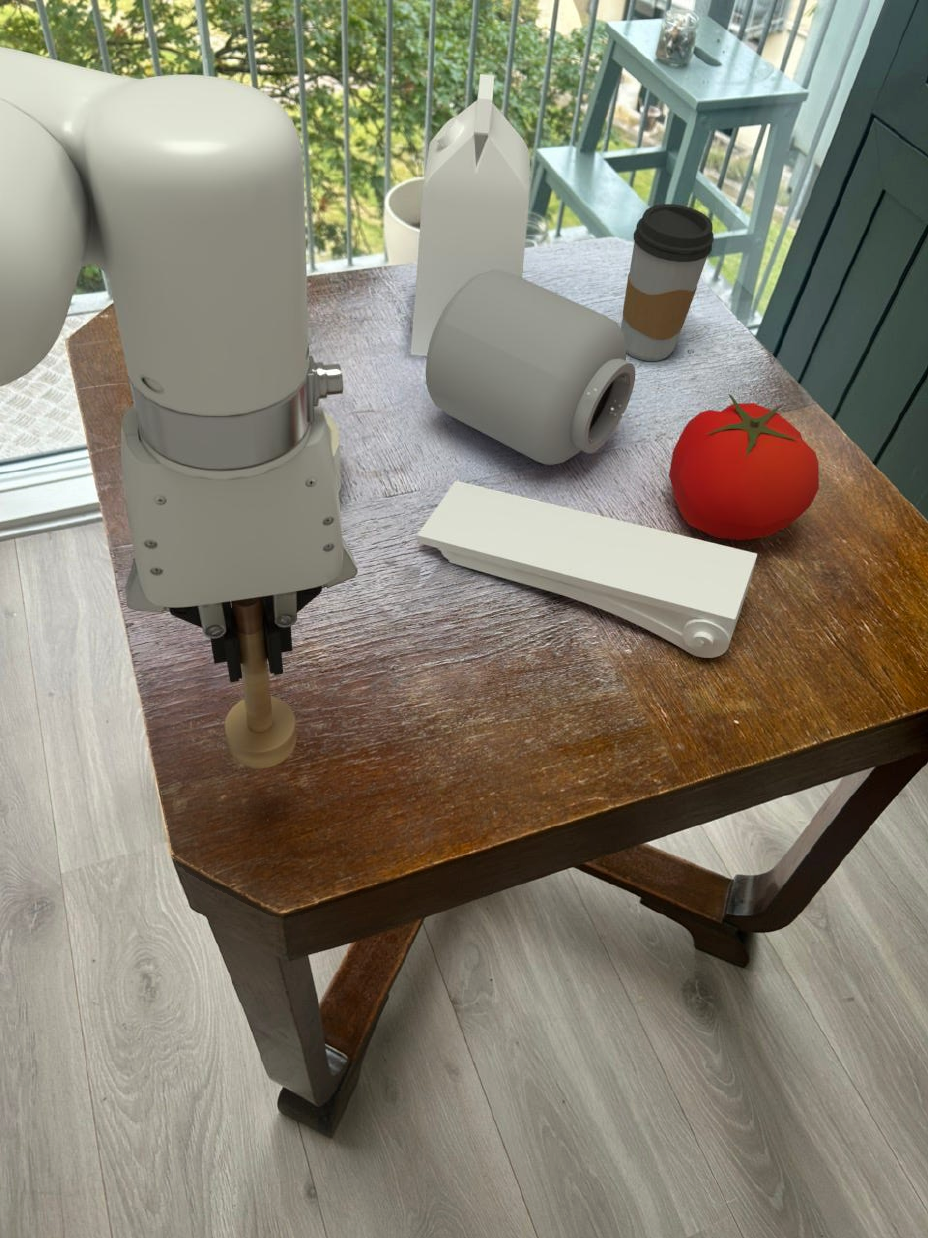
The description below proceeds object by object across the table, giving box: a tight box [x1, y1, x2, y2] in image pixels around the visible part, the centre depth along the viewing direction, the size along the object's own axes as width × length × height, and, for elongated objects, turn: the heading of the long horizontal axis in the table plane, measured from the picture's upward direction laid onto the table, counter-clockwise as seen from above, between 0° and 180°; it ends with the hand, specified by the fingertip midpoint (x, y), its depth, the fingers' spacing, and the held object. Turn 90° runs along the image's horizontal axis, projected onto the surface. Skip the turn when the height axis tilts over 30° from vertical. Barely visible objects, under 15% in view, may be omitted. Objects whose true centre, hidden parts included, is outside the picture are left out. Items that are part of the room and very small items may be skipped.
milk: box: [410, 73, 531, 357], centre depth 100 cm, size 12×12×26 cm
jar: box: [425, 270, 674, 466], centre depth 92 cm, size 19×15×25 cm
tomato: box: [668, 393, 820, 541], centre depth 87 cm, size 12×13×12 cm
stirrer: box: [224, 597, 298, 769], centre depth 57 cm, size 4×4×14 cm
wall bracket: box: [416, 480, 758, 659], centre depth 84 cm, size 10×7×28 cm
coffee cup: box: [620, 203, 714, 362], centre depth 104 cm, size 8×8×15 cm
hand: (252, 658), depth 56 cm, fingers closed on stirrer
